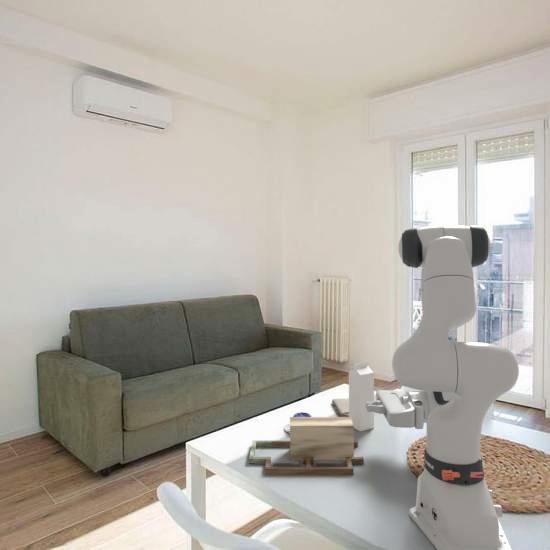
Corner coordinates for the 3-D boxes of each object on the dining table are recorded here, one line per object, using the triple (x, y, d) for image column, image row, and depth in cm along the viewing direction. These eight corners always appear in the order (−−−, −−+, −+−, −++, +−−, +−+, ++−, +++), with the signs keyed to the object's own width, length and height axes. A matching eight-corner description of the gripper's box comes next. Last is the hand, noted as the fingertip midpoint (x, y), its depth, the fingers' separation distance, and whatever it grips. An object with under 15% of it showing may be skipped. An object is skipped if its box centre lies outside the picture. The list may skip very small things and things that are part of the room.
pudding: (279, 435, 148) (279, 419, 148) (290, 422, 160) (290, 407, 159) (315, 439, 144) (315, 423, 144) (323, 425, 156) (323, 410, 156)
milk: (348, 426, 154) (348, 361, 154) (362, 422, 157) (361, 359, 157) (360, 432, 149) (359, 365, 148) (374, 428, 152) (373, 363, 151)
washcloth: (342, 420, 161) (341, 412, 161) (330, 404, 179) (330, 396, 178) (374, 419, 162) (374, 410, 162) (360, 402, 180) (360, 395, 180)
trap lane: (367, 474, 120) (367, 469, 120) (247, 474, 121) (246, 468, 121) (357, 445, 139) (357, 440, 139) (252, 445, 140) (252, 440, 140)
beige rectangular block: (353, 460, 129) (353, 425, 129) (290, 460, 130) (290, 425, 129) (350, 449, 136) (350, 417, 136) (290, 449, 137) (290, 417, 136)
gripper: (405, 384, 142) (360, 385, 142) (424, 409, 122) (372, 409, 122) (404, 404, 142) (360, 404, 143) (424, 431, 122) (372, 432, 123)
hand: (366, 407), depth 132 cm, fingers closed
